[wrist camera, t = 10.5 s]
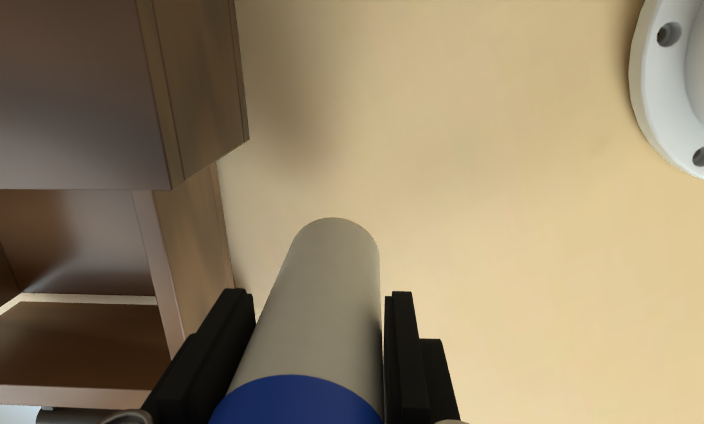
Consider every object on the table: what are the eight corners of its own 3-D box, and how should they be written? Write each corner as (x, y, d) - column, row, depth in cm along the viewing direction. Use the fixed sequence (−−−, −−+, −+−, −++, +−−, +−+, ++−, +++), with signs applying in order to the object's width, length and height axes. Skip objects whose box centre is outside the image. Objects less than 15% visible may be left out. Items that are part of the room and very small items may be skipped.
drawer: (261, 378, 23) (226, 476, 18) (47, 370, 24) (-48, 461, 18) (218, 41, 16) (139, 34, 11) (-81, 45, 17) (-294, 41, 12)
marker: (383, 214, 15) (402, 523, 5) (381, 299, 16) (394, 668, 6) (284, 213, 15) (115, 509, 5) (290, 297, 16) (169, 653, 7)
